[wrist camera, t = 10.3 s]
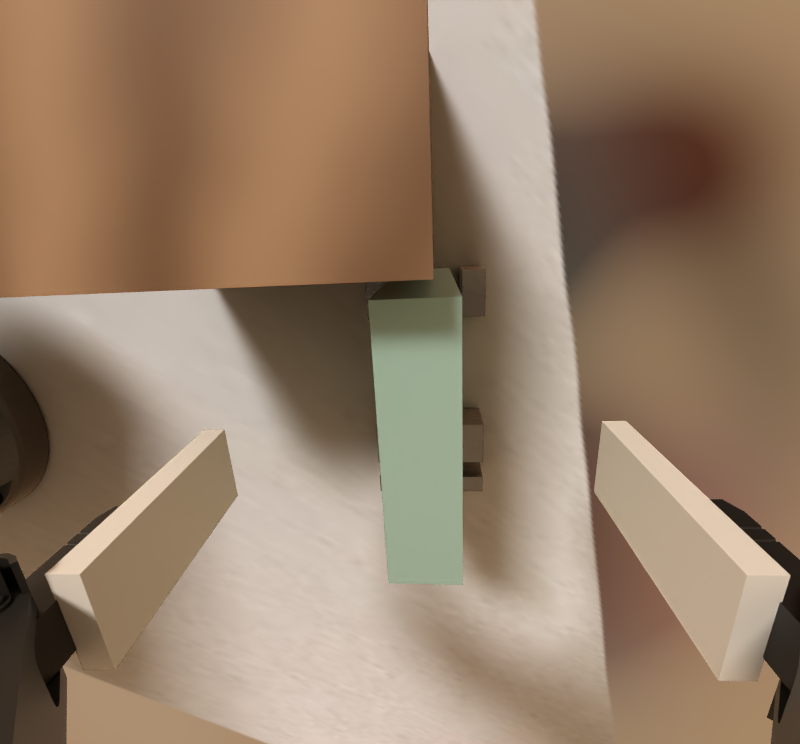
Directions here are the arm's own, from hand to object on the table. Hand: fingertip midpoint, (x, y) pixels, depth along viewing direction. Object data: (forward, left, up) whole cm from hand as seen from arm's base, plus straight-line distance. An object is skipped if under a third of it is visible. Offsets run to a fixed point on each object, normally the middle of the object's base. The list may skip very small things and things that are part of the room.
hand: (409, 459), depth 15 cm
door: (0, 0, -12) cm, 12 cm away
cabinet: (-6, +11, -12) cm, 18 cm away
